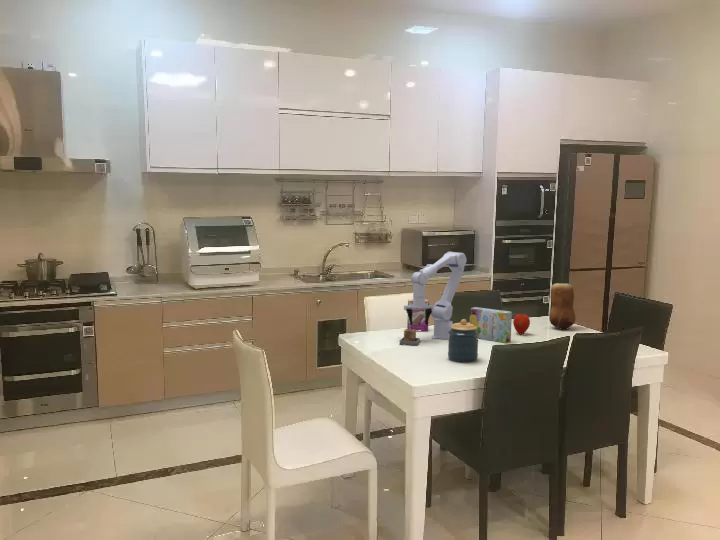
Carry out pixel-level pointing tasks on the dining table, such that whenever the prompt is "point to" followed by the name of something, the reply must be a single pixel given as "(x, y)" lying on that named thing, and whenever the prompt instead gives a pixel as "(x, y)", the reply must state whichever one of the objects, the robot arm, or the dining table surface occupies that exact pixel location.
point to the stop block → (409, 335)
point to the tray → (410, 342)
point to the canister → (463, 342)
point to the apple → (521, 323)
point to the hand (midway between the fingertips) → (418, 324)
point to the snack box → (492, 324)
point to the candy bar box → (417, 318)
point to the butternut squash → (562, 306)
